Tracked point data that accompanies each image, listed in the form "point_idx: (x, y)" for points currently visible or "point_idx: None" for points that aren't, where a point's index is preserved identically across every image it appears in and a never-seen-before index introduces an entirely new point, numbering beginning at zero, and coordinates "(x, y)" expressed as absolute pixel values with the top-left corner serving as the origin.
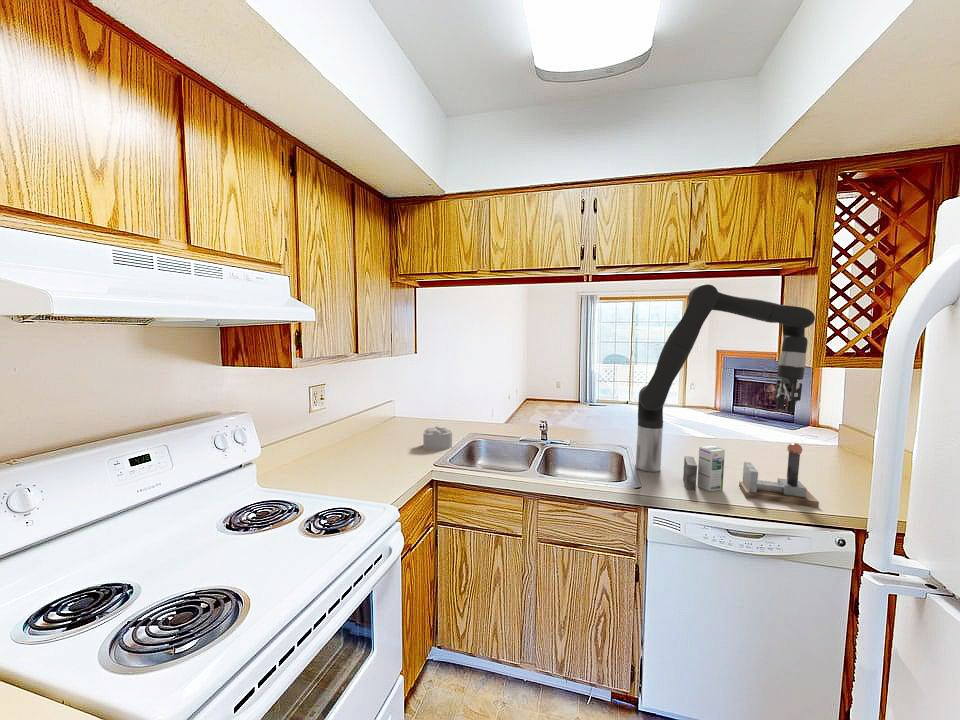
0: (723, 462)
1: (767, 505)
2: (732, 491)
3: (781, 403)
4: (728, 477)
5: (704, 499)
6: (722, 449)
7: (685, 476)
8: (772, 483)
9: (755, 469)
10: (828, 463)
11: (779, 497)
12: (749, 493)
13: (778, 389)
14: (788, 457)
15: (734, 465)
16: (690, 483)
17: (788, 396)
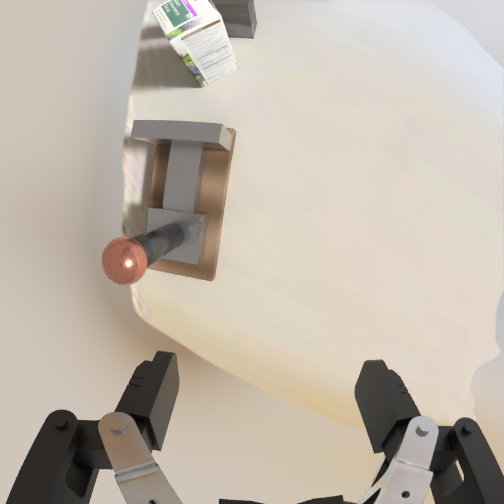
0: (180, 57)
1: (135, 160)
2: (199, 107)
3: (372, 409)
4: (304, 130)
5: (145, 49)
6: (173, 35)
7: None
8: (182, 191)
9: (152, 136)
10: (419, 404)
11: (151, 192)
12: None
13: (414, 497)
14: (142, 236)
15: (408, 192)
16: None
17: (124, 453)
